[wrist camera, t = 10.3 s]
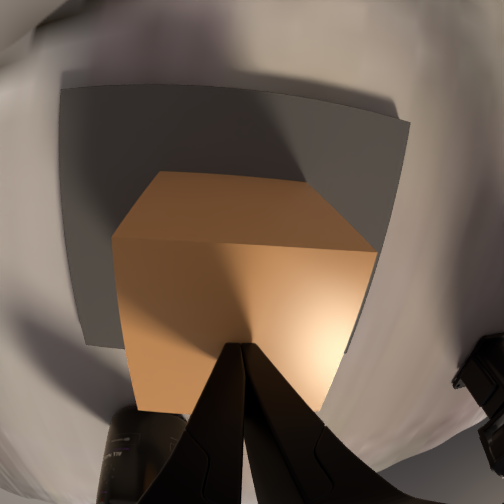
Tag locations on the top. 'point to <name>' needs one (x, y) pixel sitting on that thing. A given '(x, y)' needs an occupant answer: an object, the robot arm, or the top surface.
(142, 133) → the dark gray mat
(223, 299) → the rounded wooden cube
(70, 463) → the top surface
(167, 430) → the supplement bottle
